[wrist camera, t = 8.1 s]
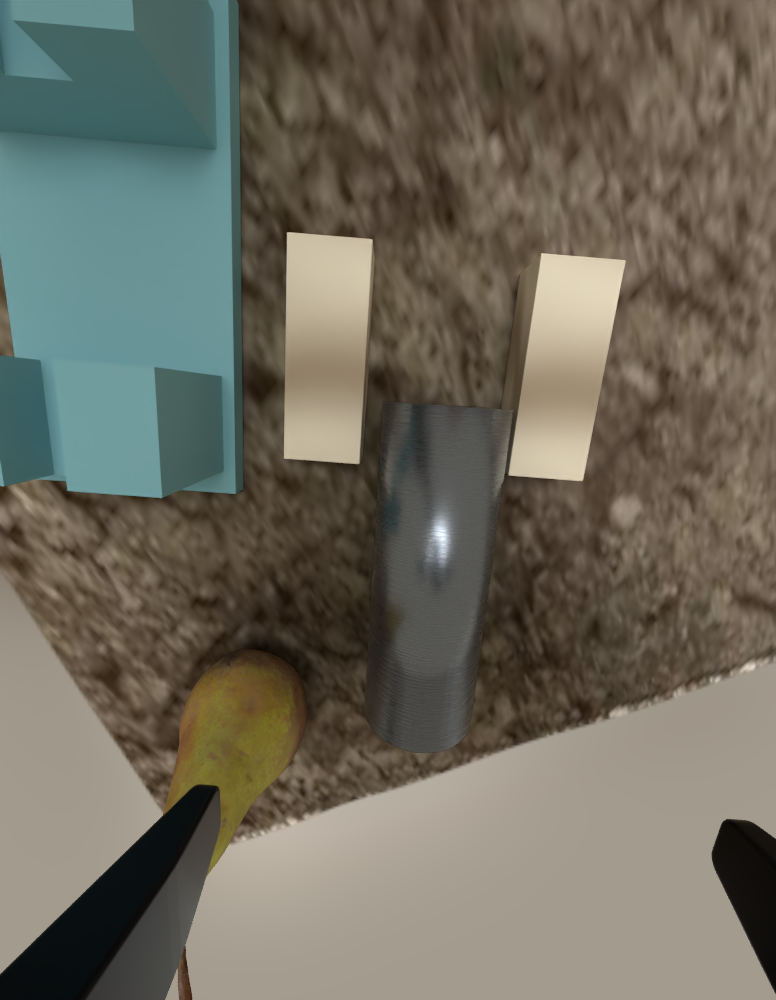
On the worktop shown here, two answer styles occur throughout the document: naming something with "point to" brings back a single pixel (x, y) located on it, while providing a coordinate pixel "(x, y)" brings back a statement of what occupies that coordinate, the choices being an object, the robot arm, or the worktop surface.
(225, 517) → the worktop surface
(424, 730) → the grey rounded rod
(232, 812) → the fruit
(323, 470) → the worktop surface
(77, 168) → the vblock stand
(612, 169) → the worktop surface
